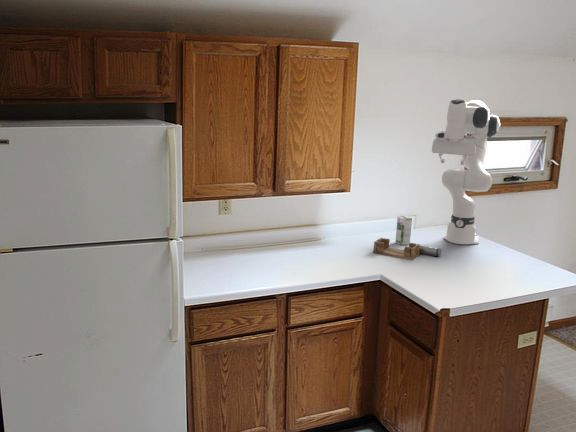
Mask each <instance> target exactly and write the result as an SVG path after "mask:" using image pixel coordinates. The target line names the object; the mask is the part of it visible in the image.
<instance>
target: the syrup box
mask: <svg viewBox="0 0 576 432" xmlns="http://www.w3.org/2000/svg"><path fill="white" fill-rule="evenodd" d="M412 222H413V217H410V216H407V215H398V216H397V221H396V231H395V243H396V244H398V245H400V246H404V245H406V246H407V245H409V244H410V243H411V235H412V224H413V223H412Z"/></svg>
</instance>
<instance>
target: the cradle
mask: <svg viewBox="0 0 576 432" xmlns="http://www.w3.org/2000/svg"><path fill="white" fill-rule="evenodd" d="M390 242H391V241H390V238H384V237H380V238H378V239H377V240H375V241H374V242H373V250H372V251H373V252H372V253H373V254H376V255H377V254H378V255H383V256H388V257H395V258H400V259H406V260H409V261H414V260H415V259H416V258H417V257H419V255H420V253H419V248H420V245H421V244H420V243H414V242H410V244H408V246H407V245H406V246H404V249H402V248H395V247H391V246H390Z"/></svg>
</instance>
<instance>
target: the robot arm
mask: <svg viewBox="0 0 576 432" xmlns="http://www.w3.org/2000/svg"><path fill="white" fill-rule="evenodd" d="M446 120H447V121H446V123H447V124H446V127H445V130H443V131H438V132H437V133H435V136H434V137H435V138H434V139H433V141H432V146H431V152H432V153H433V154H438V157H439V159H440V163H441V164H445V161H446V160H445V158H443V154H444V155H457V156H462V157H461V160H460V165H463V167H464V168H465V169H464V168H449V169H448V168H447V169H445V171H444V172H443V173H442V176H441V182H442V185H443V187H444V188H446V190H448V192H449V194H450V196H451V197H452V214H451V217H450V222H449V223H448V224H447V228H446V234H445V235H444V236H443V237H442V239H443V240H446V241H448V243H453V244H456V245H457V244H458V245H478V244H479V243H480V240H479V239H480V236H479V235H477V233H476V229H477V227H476V225H475V222H476V221H475V210H476V209H475V208H476V203H475V201H474V199H473V198H471V197H470V196H468V194H466V191H467V192H476V193H480V192H481V193H483V192H488V191H489V190H490V188H491V187H492V185H493V177H492V175H491V174H490V173H489V172H488V171H487V170H486V169H485V167H484V160H485V156H486V152H487V146H488V138H489V139H492V137H493V136H495V135H496V134H497V133H498V132H499V130H500V127H501V122H500V118H499V116H498V115H494V114H491V115H490V108H488V107H487V105H486V104H485V103H484V102H483V101H481V100H477V99H476V100H470V101H468V102H467V100H465V99H461V98H460V99H459V98H458V99H452V100H450V101H449V104H448V107H447V115H446ZM465 134H468V135H465Z"/></svg>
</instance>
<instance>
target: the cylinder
mask: <svg viewBox="0 0 576 432" xmlns="http://www.w3.org/2000/svg"><path fill="white" fill-rule="evenodd" d="M441 253H442V250H441V248H439V247H432V246H428V245H427V246H426V245H421V244H420V248H419V254H421V255H427V256H432V257H433V256H434V257H440V256H441Z"/></svg>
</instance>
